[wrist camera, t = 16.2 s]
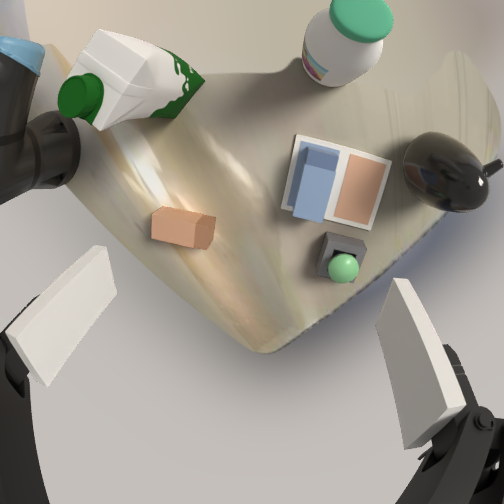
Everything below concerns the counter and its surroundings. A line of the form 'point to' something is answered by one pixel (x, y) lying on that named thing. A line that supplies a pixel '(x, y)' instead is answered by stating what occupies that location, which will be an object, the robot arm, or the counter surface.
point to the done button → (343, 267)
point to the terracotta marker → (183, 227)
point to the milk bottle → (345, 40)
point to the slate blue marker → (315, 184)
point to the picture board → (343, 182)
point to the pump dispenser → (447, 173)
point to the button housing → (336, 245)
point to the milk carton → (126, 82)
